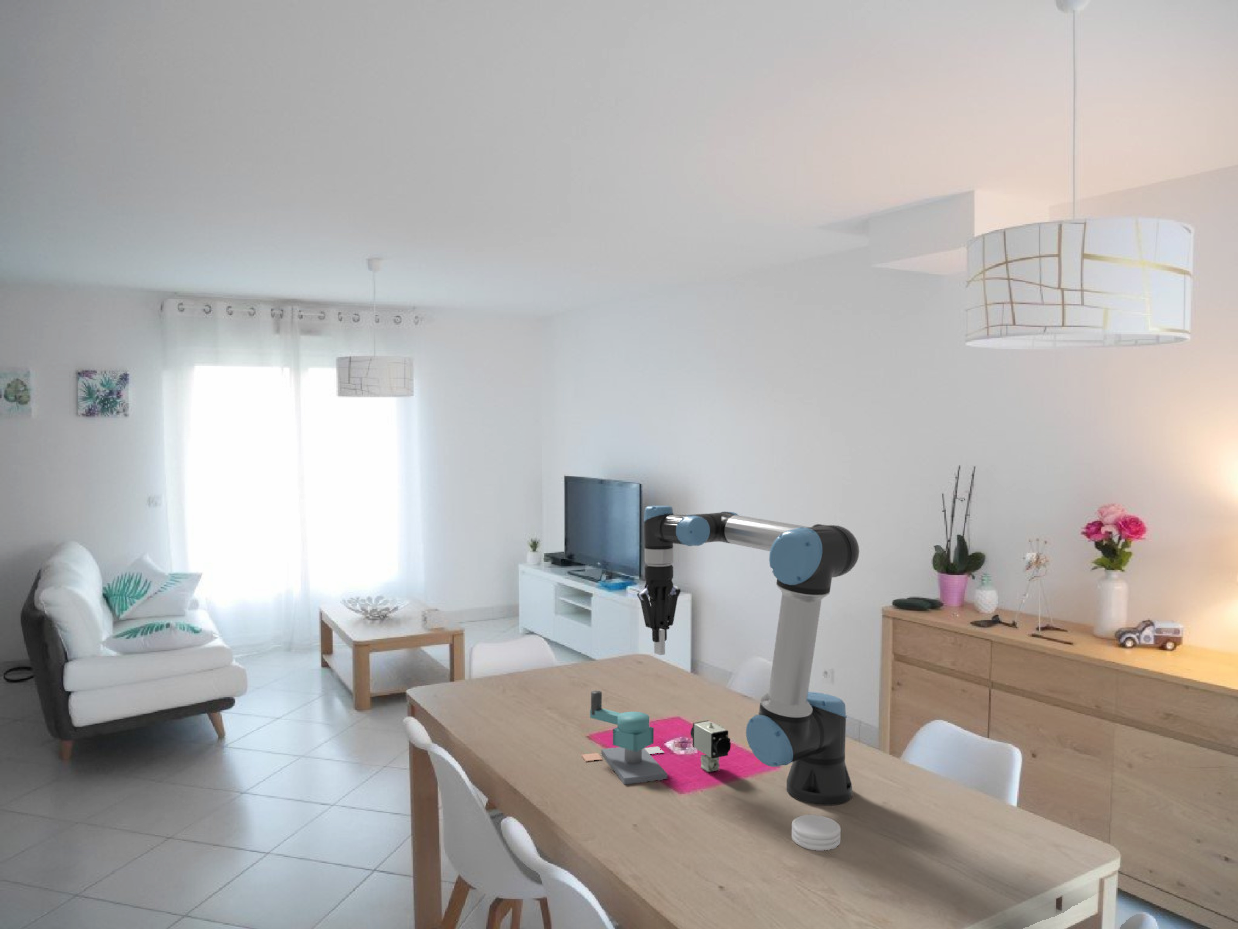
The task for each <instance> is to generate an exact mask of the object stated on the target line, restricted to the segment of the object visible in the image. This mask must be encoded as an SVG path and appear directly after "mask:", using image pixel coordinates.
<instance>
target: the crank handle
mask: <svg viewBox="0 0 1238 929" xmlns="http://www.w3.org/2000/svg"><path fill="white" fill-rule="evenodd" d="M602 696H603V693H602V691H600V690H593V691H590V710H589V718H590V719H594V720H597V721H601V722H604V723H608V724H613V725H616V727H615V728H613V729H612V746H615V747H622V748H625V749H629V750H633V751H636V752H637V751H639V750H641V749H643V748H648V746H651V745H653V744H654V739H655V738H654V732H655V728H654V727H653V726H650V715H648V714H647V713H644V712H641V711H626V712H624V711H623V712H618V711H614V710H609V709H606V708H602V706H603V704H602V702H603V701H602V699H603V698H602Z"/></svg>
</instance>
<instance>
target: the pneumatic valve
mask: <svg viewBox="0 0 1238 929" xmlns="http://www.w3.org/2000/svg"><path fill="white" fill-rule="evenodd" d="M690 737H691V739H692V747H693V748H694V749H696V750H697V751H699V752H701V753H702V754H701V755H700V763H701V765H700V769H702V770H703V771H706V772H707V773H709V772H710V773H711V772H714V771H716V772H718V771H720V762H719V761H720V758H723V757H727V756H729V751H731V747H732V743H731V738H730V737H729V730H727V729H725V728H724V726H722V725H720V724H716V723H715V722H713V721H710V720H703V721H697V722H693V723H692V727H691V729H690ZM704 754H705V755H704ZM717 770H718V771H717Z"/></svg>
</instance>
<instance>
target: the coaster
mask: <svg viewBox="0 0 1238 929" xmlns="http://www.w3.org/2000/svg"><path fill="white" fill-rule="evenodd" d="M841 831H842V829H841V826H840V824H839V823H838V822H837V821H835V820H834V819H832V818H830V817H827V816H824V815H819V814H804V815H800V816H797V817H795V818H794V819H793V820H792V823H791V839H792V841H793V842H794V843H795V844H796V845H797V844H798V846H799V847H801V848H804V849H807V850H809V851H815V850H816V852H817V851H818V852H826V850H828V851H831V850H830V849H832V850H834V849H835V850H836V848H838V847H839V846H840V845H841V836H842V835H841ZM838 845H839V846H838ZM837 846H838V847H837ZM824 850H825V851H824Z"/></svg>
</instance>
